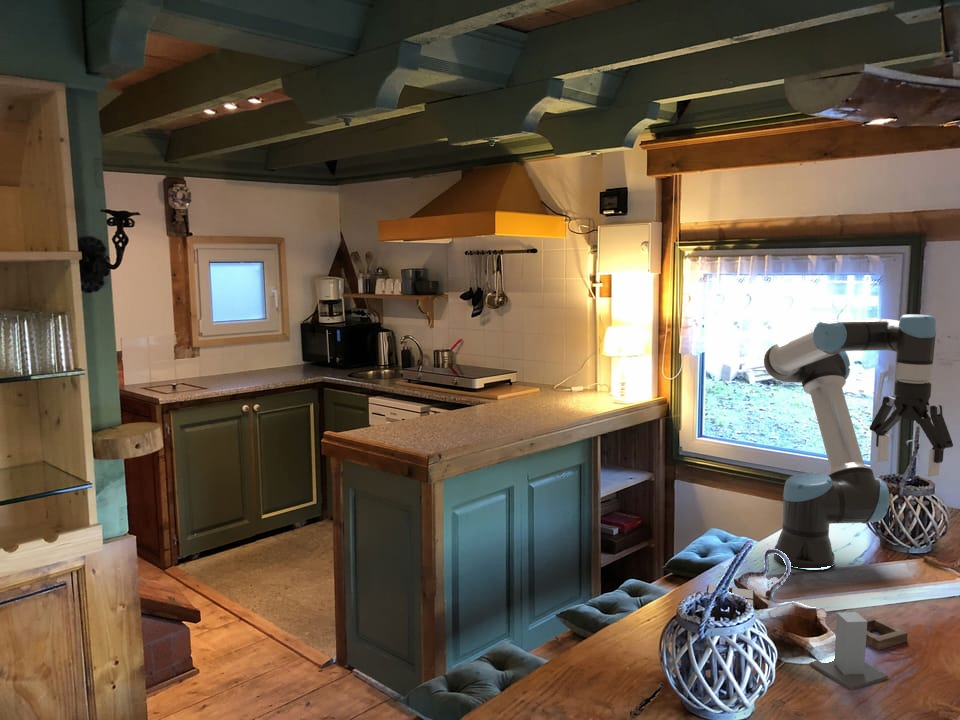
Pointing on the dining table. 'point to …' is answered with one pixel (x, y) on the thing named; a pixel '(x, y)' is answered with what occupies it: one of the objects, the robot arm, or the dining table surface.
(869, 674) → the rubber pad
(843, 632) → the slate block
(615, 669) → the dining table surface
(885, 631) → the frame
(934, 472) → the robot arm
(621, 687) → the dining table surface
